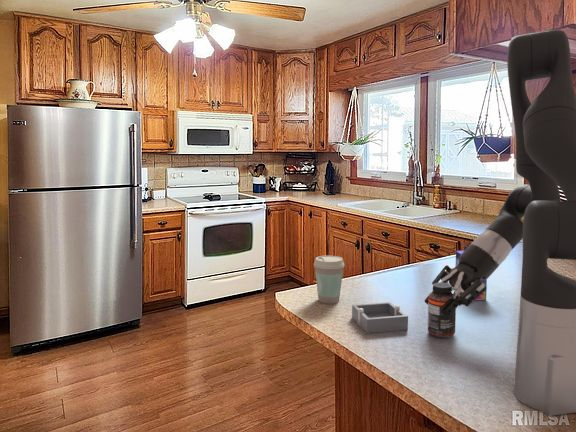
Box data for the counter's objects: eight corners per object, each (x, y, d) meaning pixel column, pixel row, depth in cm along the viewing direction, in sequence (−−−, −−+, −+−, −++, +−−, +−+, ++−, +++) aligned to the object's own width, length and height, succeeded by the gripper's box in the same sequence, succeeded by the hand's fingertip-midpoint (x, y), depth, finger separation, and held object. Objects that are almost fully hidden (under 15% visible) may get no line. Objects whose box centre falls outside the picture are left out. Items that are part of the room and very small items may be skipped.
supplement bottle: (443, 326, 105) (445, 279, 103) (460, 336, 99) (463, 286, 97) (421, 330, 103) (423, 282, 101) (438, 340, 97) (440, 289, 96)
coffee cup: (320, 293, 130) (320, 253, 129) (348, 297, 127) (348, 256, 125) (308, 302, 123) (308, 260, 121) (338, 307, 119) (338, 263, 117)
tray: (408, 329, 104) (409, 313, 103) (365, 333, 102) (366, 316, 101) (390, 314, 114) (390, 299, 113) (351, 317, 112) (351, 302, 111)
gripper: (456, 237, 106) (409, 289, 106) (495, 250, 92) (441, 309, 92) (475, 258, 108) (429, 309, 108) (516, 273, 94) (463, 331, 94)
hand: (435, 308), depth 100 cm, fingers closed on supplement bottle, 6 cm apart
